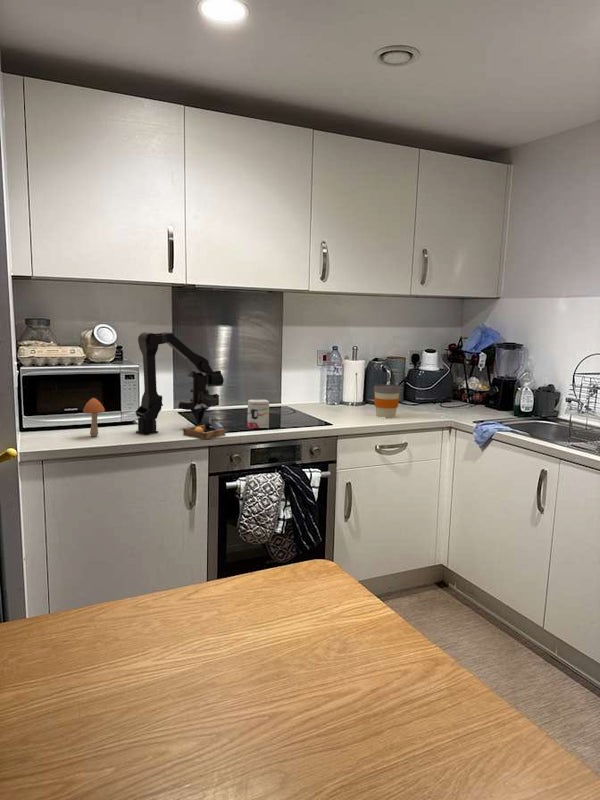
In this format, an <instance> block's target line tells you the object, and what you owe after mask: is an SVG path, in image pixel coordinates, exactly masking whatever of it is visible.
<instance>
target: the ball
mask: <svg viewBox="0 0 600 800" xmlns="http://www.w3.org/2000/svg"><path fill="white" fill-rule="evenodd" d="M194 430H195V431H200V432H204V431H203V429H202V428H201V427H196V428H195V429H194Z"/></svg>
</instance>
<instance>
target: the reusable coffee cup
mask: <svg viewBox="0 0 600 800" xmlns="http://www.w3.org/2000/svg"><path fill="white" fill-rule="evenodd" d="M373 392H374V396H373V397H374V399H373V401H374V406H375V413H376V417H377V416H378V417H377V418H379V417H385V418H384V419H394V418H393V417H395V418H396V415H397V413H396V412H397V409H398V406H399V402H400V397H399V396H400V393H401V386H400V385H395V384H375V385H374V388H373Z"/></svg>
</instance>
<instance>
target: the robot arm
mask: <svg viewBox="0 0 600 800" xmlns="http://www.w3.org/2000/svg"><path fill="white" fill-rule="evenodd" d="M137 342H138V346H139V347H138V348H139V350H140V352H141V354H142V363H143V365H142V366H143V367H142V368H143V382H144V383H143V385H144V392H143V394H142V397H141V401H140V402H141V403H140V406H138V408H137V409H136V411H135V415H136V417H137V430H136V431H135V433H136V434H139V435H146V436H148V435H152V434H157V433H159V430H157V420H156V419H158V416H159V413H160V412H161V411H162V407H164V404H163V395H159V393H158V389H157V368H156V366H157V363H156V355H157V352H158V350H159V345H163V344H166V345H168V346H170V348H171V349H173V350H174V351H175V352H177V354H179V355H180V356H181V357H182V358H183V359H184V360H186V362H187V364H188V366H189V367H190V368H191V369H192V370H191V372H190V373H189V374H188V375H187V376H188V377H190V378H192V388H191V389H190V393H192V398H190V401H189V400H184V401H183V400H182V401H179V402H178V409H180V410H186V411H190V412H191V413H192V414H193V417H194V418H195V421H196V424H197V425H198V424H199V425H200V424H201V423H202V421H203V418H204V415H205V413H206V411H207V410H209V409H210V408H211V407H216V406H217V407H218V406H220V395H219V394H218V393H213V394H210V391H209V389H207V387H211V388H212V387H221V386H223V385H224V382H225V379H224V377H223V374H222V371H221V370H219V369H218V370H217V369H216V370H213V369H212V367H211V366H210V362H209V360H208V359H207V358H205V357H203V356H202V355H200V354H197V353H195V352H194V351H193V350H191V349H190V348H189V347H188V346H187V345H186V344H185V343H183V342H182V341H181V340H180V339H179V338H178V337H177V336H175V334H174V333H172V332H168V331H167V332H166V331H165V332H161V333H153V332H142V333H140V334H139V336H138V338H137ZM196 371H197V372H196Z"/></svg>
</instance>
